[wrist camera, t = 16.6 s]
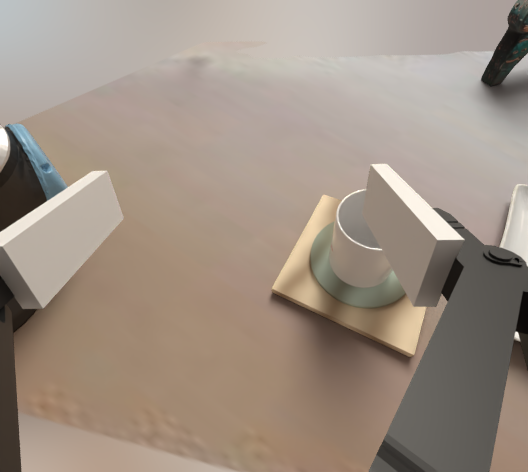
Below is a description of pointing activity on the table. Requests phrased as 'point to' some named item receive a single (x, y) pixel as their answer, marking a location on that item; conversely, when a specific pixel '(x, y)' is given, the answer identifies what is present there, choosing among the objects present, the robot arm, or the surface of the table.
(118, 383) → the table surface
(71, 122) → the table surface
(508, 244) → the square plate
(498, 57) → the ceramic cat
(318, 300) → the serving board
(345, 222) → the mug
